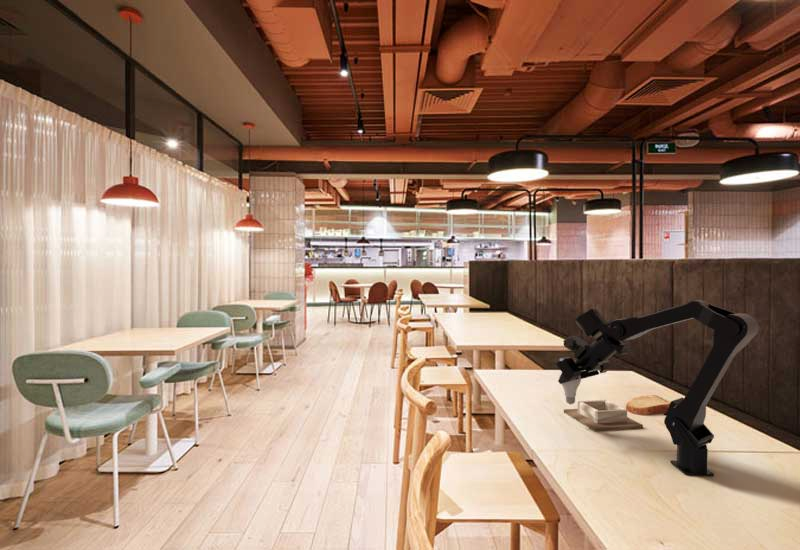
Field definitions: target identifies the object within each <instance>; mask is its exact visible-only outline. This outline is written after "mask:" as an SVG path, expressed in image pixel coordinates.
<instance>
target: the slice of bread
mask: <svg viewBox="0 0 800 550" xmlns="http://www.w3.org/2000/svg"><path fill="white" fill-rule="evenodd" d="M670 403H671V401H669V400H667V399H665V398H663V397H660V396H658V395H655V394H650V395H641V396H638V397H634V398H631V399H630V400H629V401H628V402H626V405H625V409H626V410H627V412H629V413H630V414H633V415H637V416H653V415H659V414H660V415H661V414H664V413H666V412H667V410H668V408H669V405H670Z"/></svg>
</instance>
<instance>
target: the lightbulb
mask: <svg viewBox="0 0 800 550" xmlns="http://www.w3.org/2000/svg"><path fill="white" fill-rule="evenodd" d="M561 374H562V371H561V370H560V373H559V376H558V379H559V378H560V376H561ZM581 382H582V379H581V376H579V379H577V380H573V381H569V382H566V383H562V384H561V386H562V387H563V390H564V396H565V402H566V403H567V404H569V405H573V404H575V403H576V396H577V390H578V388H579V386H580V385H581Z"/></svg>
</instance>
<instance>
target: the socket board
mask: <svg viewBox="0 0 800 550" xmlns="http://www.w3.org/2000/svg"><path fill="white" fill-rule="evenodd" d="M563 413H564V414H565V413H566V415H567V414H568V415H567V416H569V417H570V416H571V417H570V418H571V419H574V420H575V419H576V420H575V421H577V422H579V423H580V424H582V425H584V426H585V427H586V428H588V427H589V428H588V429H590V430H591V431H594V432H603V431H606V432H607V431H618V430H620V431H621V430H632V429H633V430H634V429H644V428H643V427H644V424H642V423H641V422H638V421H636V420H634V419H632V418H630V417H628V411H627V410H626V408H623V407H622V406H619V405H617V404H615V403H613V402H611V401H609V400H606V399H599V400H579V401H577V408H569V409H567V408H566V409H565V408H564V409H563Z"/></svg>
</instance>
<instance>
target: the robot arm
mask: <svg viewBox="0 0 800 550" xmlns="http://www.w3.org/2000/svg"><path fill="white" fill-rule="evenodd" d="M693 319H694V320H697V321H698V322H700V323H701V324H702V325H704V326H706V327H707V328H710V329H711V330H713V334H712V344H711V345H712V346H711V350H709V353H708V355H707V357H706V358H705V360H704V362H703V364H702V366H701V367H700V369H699V371H698V373H697V375H696V377H695V378H694V380H693V382H692V383H691V385H690V387H689V389H688V391H687V392H686V395H685V396H684V397H680V398H677V399H674V400H671V401H670V402H671V403H670V405H669V408H668V410H667V412H665V413H662V414H663V416H664V421H663V422H664V423H663V424H664V426H665V428H666V429H667V430H668V432H669V434H670V437H671V441H672V444H674V445H676V460H675V459H674V460H670V464H672V465H673V466H674V467H675V468H677V469H678V470H679V471H681V472H682V474H684V475H687V476H707V477H708V476H709V477H713V476H715V473H714V472H713V471H712V470H710V469H708V457H709V456H708V452H709V448H708V444H711V443H712V442H713V439H714V438H715V435H714V434H713V433H712V432H711V430H710V429H709V428H708V427H707V425H706V424H705V423H704V422H705V419H706V417H707V416H706V415H707V405H708V403H709V401H710V400H711V398H712V396H713V395H714V393H715V391H716V389H717V388H718V386H719V384H720V382H721V380H722V379H723V377H724V375H725V373H726V372H727V370H728V368H729V367H730V365H731V363H732V361H733V360H734V358H735V357H736V355H737V354H738V353H740V352H741V350H743V348H745V346H747V345H749V343H750V342H751V340H753V339H754V338H755V336H756V335H757V334H758V333H759V330H760V325H759V323H758V322H757V320H756V319H755V318H754V317H753V316H751V315H750V314H748V313H736V312H734V311H731V310H728V309H726V308H722V307H719V306H716V305H713V304H711V303H709V302H707V301H705V300H701V299H700V300H699V299H698V300H690V301H687V302H686V303H684V304H679V305H677V306H676V305H675V306H674V307H669V308H667V309H664V310H660V311H657V312H654V313H650V314H646V315H643V316H635V317H627V318H617V319H613V320H612V321H607V320H606V319H604V317H603V316H602V315H601V314H600V312H599V310H598V309H597V308H594V307H593V308H590V309H589V310H588V311H586V312H583V313H582V314H580V315H578V316H577V318H576V319H575V323H576V324H577V326H579V328H580V329H581V331H583V333H584V334H585V336H586V337H587V338H592V339H595V340H594V341H593V342H592V343H591V344H589V343H588V342H587V341H586V340H584V339H582V338H581V337H579V336H578V335H569V336H568V337H565V339H564V340H563V341H562V342H563V347H564V348H566V349H567V350H569V351H570V352H573V353H574V354H573V357H574V358H575V359H576V360H574V359H573V358H572V357H569V356H564V357H560V358H559V359H558V360H557V361H555V362H556V363H555V364H556V366H557V367H558V369H559V370H560V372H561V371H562V374H561V376H560V378H559V377H558V380H557V382H558V383H559V385H562V383H566V382H569V381H573V380H577V379H579V376H581V380H582V379H587V378H590V377H594V376H597V375H599V374H606V373H607V372H609V370H610V369H611V368H610V366H611V365H610V363H609V362H610V358H611V357H612V356H614V355H615V354H616V352H617V354H618V355H619V356H621V355H626V354H628V353H629V351H628V350H629V349H628V344H627V343H623V342H624V341H631V340H635V339H637V338H640V337H641V336H644V335H645V334H647V333H649V332H651V331H653V330H655V329H660V328H663V327H666V326H670V325H675V324H677V323H681V322H685V321H689V320H693ZM622 341H623V342H622Z"/></svg>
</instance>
